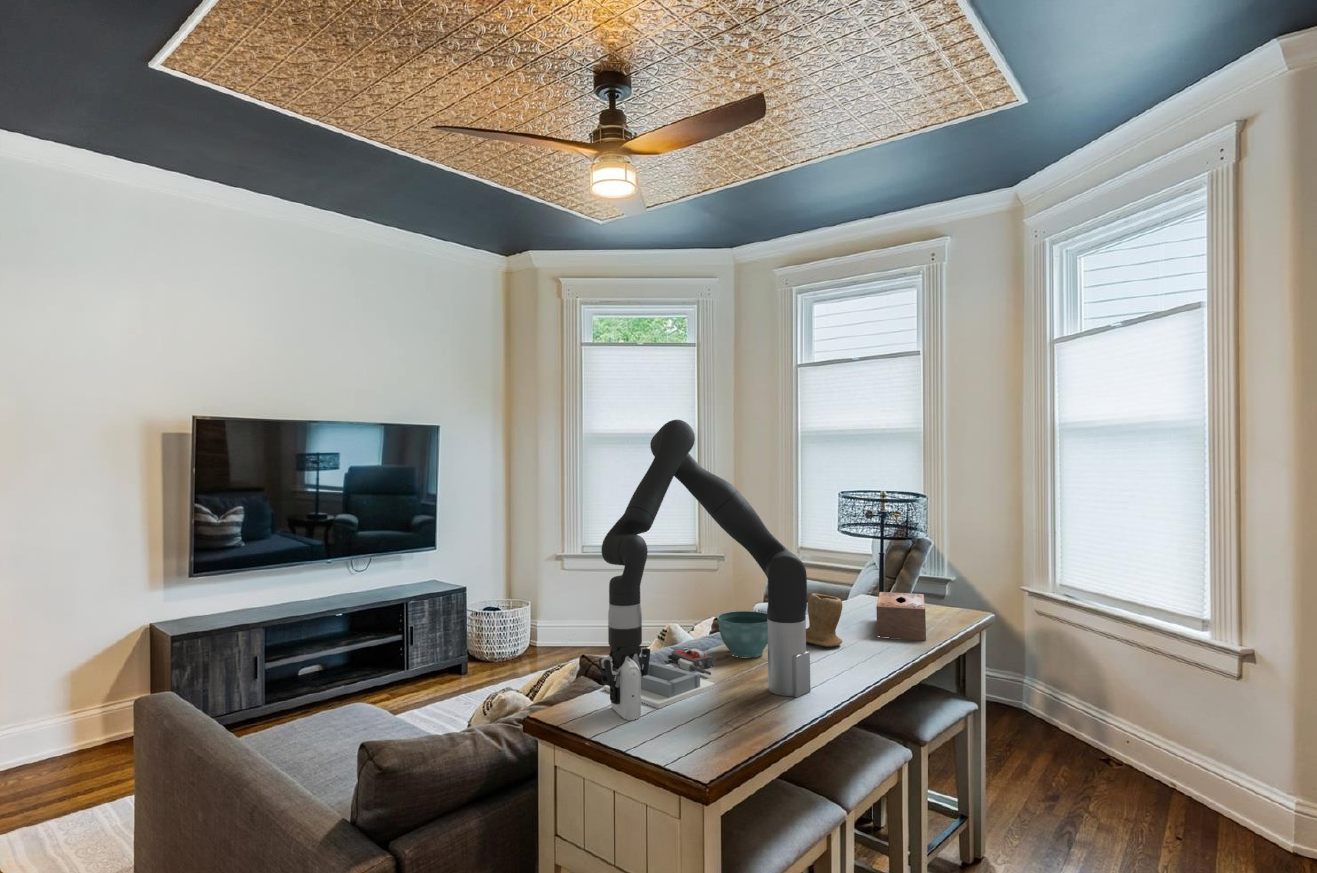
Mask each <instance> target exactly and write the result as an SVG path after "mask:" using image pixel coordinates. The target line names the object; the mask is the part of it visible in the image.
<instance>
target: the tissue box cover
mask: <svg viewBox="0 0 1317 873" xmlns="http://www.w3.org/2000/svg"><path fill="white" fill-rule="evenodd" d="M875 609H876V637H877V636H880V637H889V638H888V639H891V638H900V639H899V640H905V639H908V640H907V641H919V640H926V641H927V623H926V622H927V621H926V618H927V617H926V605H925V594H924V593H910V592H909V593H908V592H907V593H905V592H887V591H884V592H883V591H879V593H878V597H877V603H876V608H875Z"/></svg>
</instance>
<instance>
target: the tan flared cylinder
mask: <svg viewBox="0 0 1317 873" xmlns="http://www.w3.org/2000/svg"><path fill="white" fill-rule="evenodd" d="M842 612H843V601H842V600H841V598H839V597H837V596H831V595H826V594H822V593H821V594H820V593H814V592H813V593H811V594H810V595H809V597H808V598H807V615H808V621H809V624H808V628H807V627H806V644H811V645H814V646H815V645H816V646H821V647H838V646H840V645H841V644H842V643H843V640H842V639H841V638H840V637H839V636H837V632H836V630H837V626H838V624H839V622H840V620H841V616H842Z"/></svg>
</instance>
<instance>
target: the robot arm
mask: <svg viewBox="0 0 1317 873" xmlns="http://www.w3.org/2000/svg"><path fill="white" fill-rule="evenodd" d="M695 441H696V438H695V432H694V430H693V427H692V426H691V424H689V423H688V422H686V421H684V420H683V419H682V420H681V419H672V420H669V421H667V422H666V423H664V424H663V425H662V426H661V427H660V428H659V430H657V432H656V433H655V434H654V435H653V437H652V438H651V440H650V447H649V448H650V451H651V453H652V455H653V456H654V458H653V460H652V462H651V464H650V465H649V467H648V469H647V471H646V473H645V474H644V476H643V477H642V479H641V480H640V481H639V483H638V486H637V487H636V489H635V491H633V494H632V496H631V498H630V500H629V502H628V505H627V507H626V509H625V511H624V513H623V515H621V517H620V518H619V519H618V520H617V521H616V522H615V523H614V525H613V526H612V527H611V528H610V530H609V531H608V532H607V533H606V535H605V537H604V538H603V541H602V544H601V556H602V559H603V560H604V561H605V562H606V563H608V564H609V565H615V566H622V567H623V566H624V567H623V571H622V574H621V575H617V576H613V577H612V578H610V580H609V586H608V612H607V622H608V623H607V626H608V627H607V636H608V637H607V638H608V639H607V640H608V641H607V642H608V646H609V648H610V650H609V653H608V656H606V657H605V658H603V657H599V659H598V665H599V671H600V677H601V683H602V684H603V686H605V685H608V686H610V692H609V699H610V703H611V702H612V703H614V704H620V687H619V685H620V676H621V667H620V666H622V665H623V664H624V663H625V662H626V661H629V658H631V659H632V660H633V661H634V662H635V663H636V664H637V666H638V667H639V670H640V673H641V679H642V677H643V676H646V675H647V674H648V667H649V661H650V657H651V649H650V648H648V647H643V646H641V645H642V643H643V635H642V634H643V630H642V629H643V627H642V626H643V624H642V623H643V620H642V619H643V617H642V616H643V614H642V606H641V583H642V580H643V575H644V570H645V566H646V563H647V558H648V546H647V542H646V540H645V539H644V538H643V537H642V536H641V535H640V534H643V533H646V532H648V531H649V530H651V528H652V526H653V524H654V522H655V520H656V517H657V514H658V512H659V510H660V507H661V506H662V504H663V501H664V499H665V496H666V494H667V491H668V489H669V488H670V485H671V483H672V481H673V478H674V477H675V478H676V479H677V480H678V482H680V483H681V484H682V485H683V486H684V487H685V489H686V490H687V491H688V492H689V493H690V494H691V495H692V496H693V498H695V500H696V501H697V502H698V503H699V504H700V505H701V506H702V507H703V508H704V510H705V511H706V512H707V513H708V515H710V517H711V518H712V519H713V520H714V521H715V522H716V523H717V524H718V526H719V527H720V528H721V529H722V530H723V531H725V532H726V534H727V535H729V536H730V537H731V538H732V539H733V540H735V542H737V543H738V544H739V545H740V546H741V547H743V548H744V549H745V550H747V553H749V554H750V555H751V557H752V558H753V559H754V560H755V562H756V563H757V565H759V567H760V569H761V570H762V572H763V573H764V575H765V576H766V578H767V608H766V609H767V610H766V613H767V624H768V644H767V675H768V678H767V679H768V680H767V681H768V682H767V683H768V691H769V692H770V693H772V694H774V695H777V696H783V697H794V698H798V697H801V696H803V695H805V694H807V693H810V692H811V654H810V651H809V650H807V642H806V629H807V624H806V622H807V620H806V618H807V617H806V614H807V609H808V592H807V591H808V586H807V585H808V577H807V575H808V574H807V569H806V566H805V564H804V562H803V561H802V560H801V559H800V558H799V557H798V556H797V555H796V554H794V553H793V552H791V551H790V550H789V548H787V547H786V546H785V545H784V544H782V543H781V542H780V540H778V539H777V538H776V537H775V536H774V535H773V534H772V533H771V531H770V530H769V529H768V528H767V527H766V525H765V524H764V522H763V520H762V519H761V518H760V516H759V515H758V513H757V511H755V509H754V508H753V507H752V505H751V503H749V501H748V500H747V499H746V498H745V497H744V496H743V494H741V492H740V491H739V490H738V489H737V488H736V486H734V485H733V484H732V483H730V482H729V481H727V480H726V479H723V478H722V477H720V476H718V475H715V473H712V472H709V471H708V470H706V469H705V468H703V466H701V465H700V464H699V463H698V462H697V461H696V459H695V458H693V456H692V455H691V453H690V452H691V450H692V449H693V447H694V445H695ZM611 662H612V664H611ZM643 665H644V666H643ZM642 666H643V669H642ZM619 668H620V670H619V672H616V669H619ZM615 676H616V680H615ZM614 680H615V681H614Z"/></svg>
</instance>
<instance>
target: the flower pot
mask: <svg viewBox="0 0 1317 873" xmlns="http://www.w3.org/2000/svg"><path fill="white" fill-rule="evenodd" d="M716 617H717V622H718V629H719V635H720V637H721V640H722V642H723V643H724V645H725V646H726V648H727V649H728V651H729V652H728V653H729V654H731V655H730V656H732V655H734V656H738V657H748V658H747V659H752V658H751V657H756V658H759V656H760V657H762V655H763V653H764V650H765V648H766V647H768V624H767V612H763V611H761V612H760V611H751V610H739V611H738V610H736V611H727V612H723V613H720V614H719V615H718V616H716ZM734 656H733V657H734ZM738 657H737V658H738ZM749 657H750V658H749Z"/></svg>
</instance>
